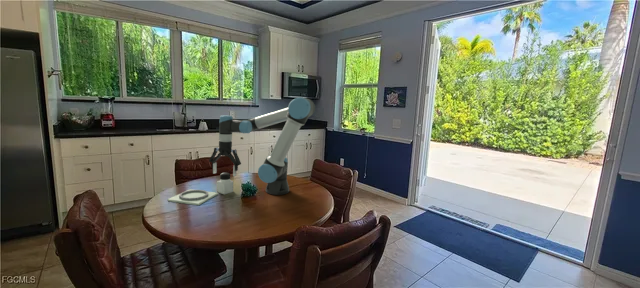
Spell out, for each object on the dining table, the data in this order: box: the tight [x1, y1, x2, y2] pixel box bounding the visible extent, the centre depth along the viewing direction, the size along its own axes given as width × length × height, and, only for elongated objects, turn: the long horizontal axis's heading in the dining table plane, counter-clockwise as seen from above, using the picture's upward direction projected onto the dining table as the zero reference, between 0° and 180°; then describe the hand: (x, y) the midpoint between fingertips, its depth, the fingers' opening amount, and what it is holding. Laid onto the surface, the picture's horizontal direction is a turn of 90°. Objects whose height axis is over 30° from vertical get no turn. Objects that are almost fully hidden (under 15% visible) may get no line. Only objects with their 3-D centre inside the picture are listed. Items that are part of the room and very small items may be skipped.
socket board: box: [167, 188, 219, 206], centre depth 157 cm, size 19×19×2 cm
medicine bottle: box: [216, 172, 234, 195], centre depth 169 cm, size 7×7×12 cm
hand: (224, 174), depth 168 cm, fingers open, 13 cm apart
